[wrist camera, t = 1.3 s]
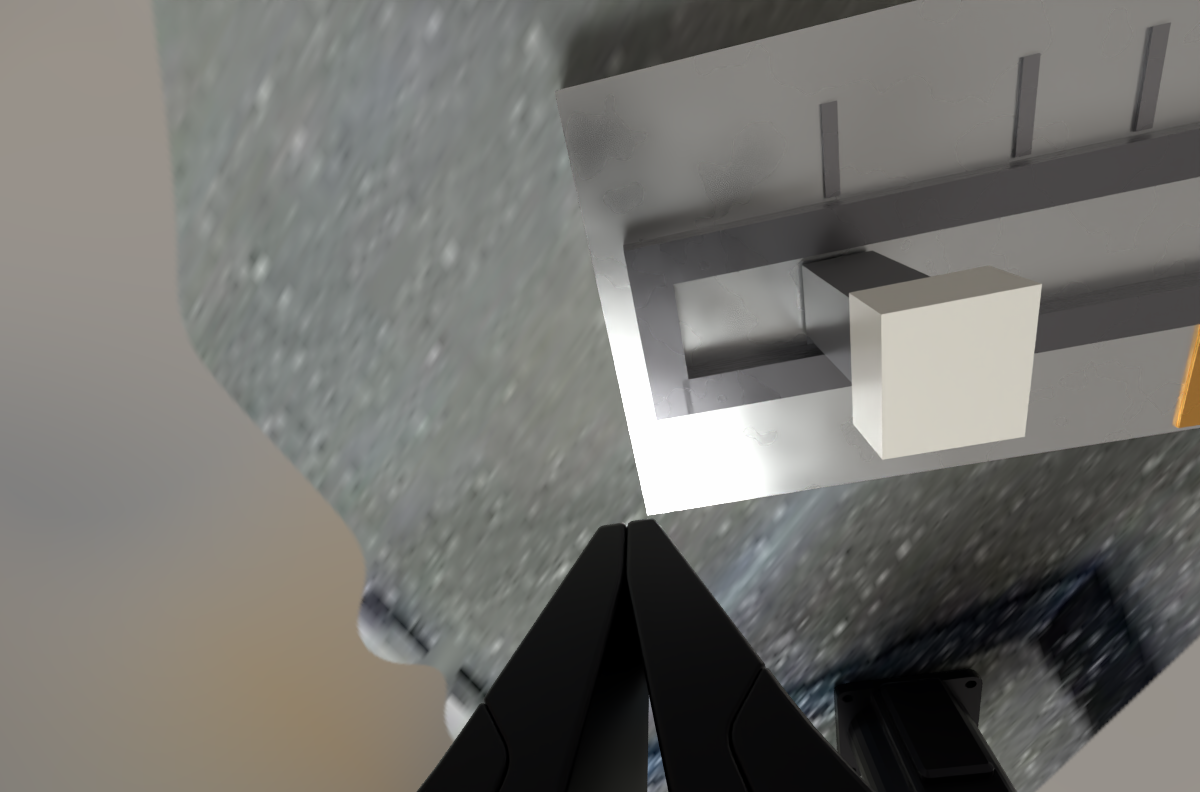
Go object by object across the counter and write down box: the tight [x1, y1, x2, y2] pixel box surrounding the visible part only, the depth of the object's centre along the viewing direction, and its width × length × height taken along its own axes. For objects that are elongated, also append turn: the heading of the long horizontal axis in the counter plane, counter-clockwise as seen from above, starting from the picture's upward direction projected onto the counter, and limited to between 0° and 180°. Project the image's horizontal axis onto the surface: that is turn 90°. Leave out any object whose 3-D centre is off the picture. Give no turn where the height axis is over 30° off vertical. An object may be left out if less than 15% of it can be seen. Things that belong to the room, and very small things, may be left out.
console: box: [555, 0, 1200, 515], centre depth 17 cm, size 14×24×3 cm, turn 102°
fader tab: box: [802, 251, 1042, 460], centre depth 14 cm, size 3×3×6 cm
